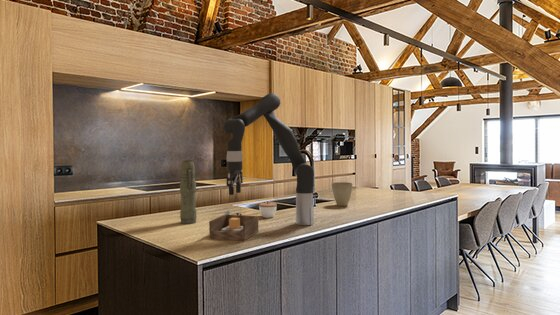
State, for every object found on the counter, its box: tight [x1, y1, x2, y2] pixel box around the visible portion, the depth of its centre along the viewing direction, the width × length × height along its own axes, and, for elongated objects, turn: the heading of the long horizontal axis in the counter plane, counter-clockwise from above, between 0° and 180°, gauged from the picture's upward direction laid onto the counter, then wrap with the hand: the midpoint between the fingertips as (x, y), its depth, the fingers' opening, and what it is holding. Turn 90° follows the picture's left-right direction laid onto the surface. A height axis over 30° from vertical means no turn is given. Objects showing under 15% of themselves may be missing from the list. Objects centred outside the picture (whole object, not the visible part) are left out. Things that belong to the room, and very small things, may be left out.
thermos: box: [179, 160, 198, 225], centre depth 213 cm, size 9×12×35 cm
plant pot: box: [331, 181, 354, 207], centre depth 270 cm, size 15×15×16 cm
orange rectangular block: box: [229, 218, 240, 229], centre depth 184 cm, size 4×4×8 cm
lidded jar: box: [258, 201, 278, 219], centre depth 229 cm, size 11×11×9 cm
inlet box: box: [208, 214, 259, 242], centre depth 184 cm, size 18×18×8 cm
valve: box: [223, 209, 243, 215], centre depth 211 cm, size 7×7×12 cm
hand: (235, 193), depth 183 cm, fingers open, 8 cm apart
